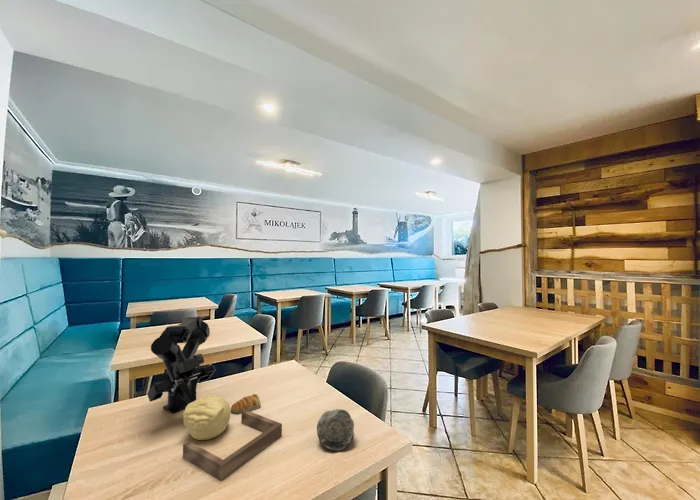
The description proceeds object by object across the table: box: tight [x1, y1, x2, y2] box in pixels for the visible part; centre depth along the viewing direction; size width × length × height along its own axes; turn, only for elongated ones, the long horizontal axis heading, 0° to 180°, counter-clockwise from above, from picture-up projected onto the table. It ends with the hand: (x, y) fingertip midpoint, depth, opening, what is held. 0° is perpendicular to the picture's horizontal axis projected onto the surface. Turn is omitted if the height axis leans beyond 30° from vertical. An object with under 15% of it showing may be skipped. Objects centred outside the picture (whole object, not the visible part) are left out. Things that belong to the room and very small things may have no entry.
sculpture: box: [182, 394, 231, 441], centre depth 88 cm, size 11×12×11 cm
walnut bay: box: [182, 410, 283, 482], centre depth 82 cm, size 16×20×4 cm
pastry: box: [230, 393, 261, 414], centre depth 102 cm, size 9×7×4 cm
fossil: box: [316, 408, 355, 452], centre depth 85 cm, size 11×9×10 cm
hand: (194, 405), depth 91 cm, fingers closed
